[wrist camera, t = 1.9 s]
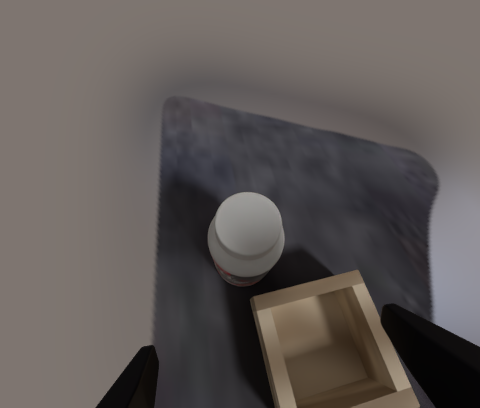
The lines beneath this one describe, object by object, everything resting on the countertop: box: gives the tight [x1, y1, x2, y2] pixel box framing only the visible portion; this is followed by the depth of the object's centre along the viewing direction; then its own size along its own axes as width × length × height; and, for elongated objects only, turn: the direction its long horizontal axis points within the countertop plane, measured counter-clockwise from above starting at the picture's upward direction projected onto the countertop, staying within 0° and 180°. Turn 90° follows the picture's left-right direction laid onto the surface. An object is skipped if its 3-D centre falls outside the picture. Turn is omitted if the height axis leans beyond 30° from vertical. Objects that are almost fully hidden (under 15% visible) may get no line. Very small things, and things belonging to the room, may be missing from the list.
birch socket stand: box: [250, 270, 420, 408], centre depth 17 cm, size 8×8×4 cm
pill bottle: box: [208, 192, 285, 286], centre depth 17 cm, size 5×5×10 cm
